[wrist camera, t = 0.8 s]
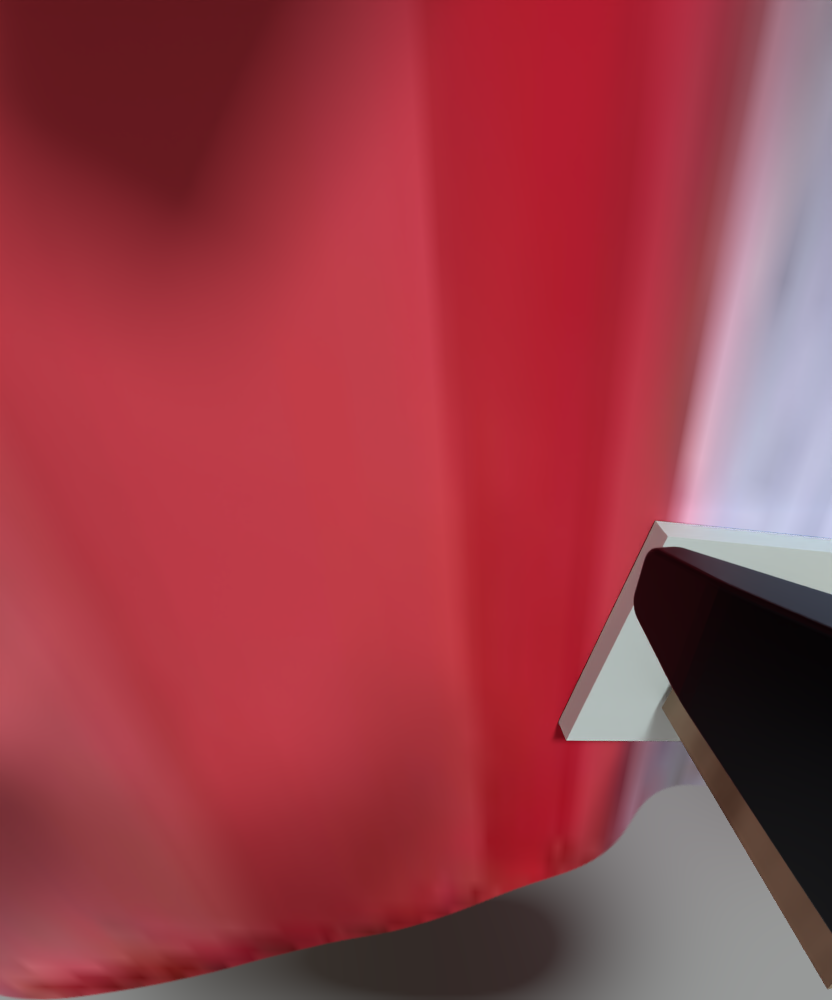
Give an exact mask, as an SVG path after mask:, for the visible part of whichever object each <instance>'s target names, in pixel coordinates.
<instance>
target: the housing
mask: <svg viewBox="0 0 832 1000" xmlns="http://www.w3.org/2000/svg"><path fill="white" fill-rule="evenodd" d="M673 546H676V547H682V548H685V549H689V550H692V551H695V552H698V553H701V554H705V555H708V556H711V557H714V558H717V559H721V560H724V561H727V562H730V563H733V564H736V565H740V566H743V567H746V568H749V569H752V570H756V571H759V572H762V573H765V574H768V575H772V576H775V577H778V578H781V579H784V580H787V581H791V582H794V583H797V584H800V585H803V586H807V587H810V588H813V589H816V590H819V591H823V592H826V593H829V594H832V539H827V538H817V537H807V536H798V535H788V534H778V533H769V532H759V531H749V530H740V529H730V528H721V527H711V526H701V525H692V524H682V523H672V522H663V521H655V522H654V525H653V527H652V529H651V531H650V533H649V535H648V537H647V539H646V541H645V543H644V545H643V547H642V550H641V552H640V554H639V556H638V558H637V560H636V562H635V564H634V566H633V568H632V570H631V572H630V574H629V577H628V579H627V581H626V583H625V585H624V587H623V589H622V591H621V593H620V595H619V597H618V599H617V601H616V604H615V606H614V608H613V610H612V612H611V614H610V616H609V618H608V620H607V622H606V624H605V626H604V629H603V631H602V633H601V635H600V637H599V639H598V641H597V643H596V645H595V647H594V649H593V651H592V653H591V656H590V658H589V660H588V662H587V664H586V666H585V668H584V670H583V672H582V674H581V676H580V678H579V680H578V683H577V685H576V687H575V689H574V691H573V693H572V695H571V697H570V699H569V701H568V703H567V705H566V708H565V710H564V712H563V714H562V716H561V718H560V720H559V725H560V727H561V729H562V732H563V734H564V736H565V739H566V740H576V741H681V740H680V738H679V737H678V735H677V733H676V731H675V730H674V728H673V726H672V725H671V723H670V721H669V720H668V718H667V716H666V715H665V713H664V711H663V709H662V706H663V704H664V703H665V701H666V699H667V697H668V696H669V694H670V692H671V690H672V689H673V688H672V686H671V685H670V683H669V681H668V679H667V677H666V675H665V673H664V671H663V669H662V667H661V665H660V663H659V661H658V659H657V657H656V655H655V653H654V651H653V649H652V647H651V645H650V643H649V641H648V639H647V637H646V635H645V633H644V631H643V629H642V627H641V625H640V623H639V621H638V619H637V617H636V614H635V611H634V604H633V600H634V593H635V590H636V586H637V583H638V579H639V576H640V573H641V569H642V566H643V562H644V559H645V556H646V554H647V553H648V552H649V551H650V550H651V549H653V548H659V547H673Z"/></svg>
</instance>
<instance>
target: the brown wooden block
mask: <svg viewBox="0 0 832 1000" xmlns="http://www.w3.org/2000/svg"><path fill="white" fill-rule="evenodd" d="M662 709H663V711H664V713H665V715H666V716H667V718H668V720H669V721H670V723H671V725H672V726H673V728H674V730H675V731H676V733H677V735H678V737H679V738H680V740H681V742H682V743H683V745H684V747H685V748H686V750H687V752H688V754H689V755H690V757H691V759H692V760H693V762H694V764H695V765H696V767H697V769H698V771H699V772H700V774H701V776H702V777H703V779H704V781H705V782H706V784H707V786H708V787H709V789H710V791H711V793H712V794H713V796H714V798H715V799H716V801H717V803H718V804H719V806H720V808H721V809H722V811H723V813H724V814H725V816H726V818H727V820H728V821H729V823H730V825H731V826H732V828H733V830H734V832H735V833H736V835H737V837H738V838H739V840H740V842H741V843H742V845H743V847H744V848H745V850H746V852H747V854H748V855H749V857H750V859H751V860H752V862H753V864H754V866H755V867H756V869H757V871H758V872H759V874H760V876H761V877H762V879H763V881H764V882H765V884H766V886H767V888H768V889H769V891H770V893H771V894H772V896H773V898H774V899H775V901H776V903H777V905H778V906H779V908H780V910H781V911H782V913H783V915H784V916H785V918H786V919H787V921H788V923H789V925H790V926H791V928H792V930H793V932H794V933H795V935H796V937H797V938H798V940H799V942H800V943H801V945H802V947H803V949H804V950H805V952H806V954H807V955H808V957H809V959H810V960H811V962H812V964H813V966H814V967H815V969H816V971H817V972H818V974H819V976H820V977H821V979H822V981H823V983H824V984H825V986H826V988H827V989H830V988H832V933H831V932H830V930H829V929H828V927H827V926H826V924H825V923H824V921H823V920H822V918H821V916H820V915H819V913H818V912H817V910H816V909H815V907H814V906H813V904H812V903H811V901H810V900H809V898H808V897H807V895H806V894H805V892H804V890H803V889H802V887H801V886H800V884H799V883H798V881H797V880H796V878H795V877H794V875H793V874H792V872H791V871H790V869H789V868H788V866H787V865H786V863H785V862H784V860H783V858H782V857H781V855H780V854H779V852H778V851H777V849H776V848H775V846H774V845H773V843H772V842H771V840H770V839H769V837H768V836H767V834H766V833H765V831H764V830H763V828H762V826H761V825H760V823H759V822H758V820H757V819H756V817H755V816H754V814H753V813H752V811H751V810H750V808H749V807H748V805H747V804H746V802H745V801H744V799H743V798H742V796H741V794H740V793H739V791H738V790H737V788H736V787H735V785H734V784H733V782H732V781H731V779H730V778H729V776H728V775H727V773H726V772H725V770H724V769H723V767H722V766H721V764H720V762H719V761H718V759H717V758H716V756H715V755H714V753H713V752H712V750H711V749H710V747H709V746H708V744H707V743H706V741H705V740H704V738H703V737H702V735H701V734H700V732H699V730H698V729H697V727H696V726H695V724H694V723H693V721H692V720H691V718H690V717H689V715H688V714H687V712H686V710H685V709H684V707H683V706H682V704H681V702H680V701H679V699H678V697H677V695H676V694H675V692H674V690H673V689H672V690H671V692H670V694H669V696H668V697H667V699H666V701H665V703H664V704H663V706H662Z"/></svg>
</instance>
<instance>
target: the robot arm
mask: <svg viewBox="0 0 832 1000" xmlns="http://www.w3.org/2000/svg"><path fill="white" fill-rule="evenodd" d="M633 604H634V611H635V614H636V617H637V619H638V621H639V623H640V625H641V627H642V629H643V631H644V633H645V635H646V637H647V639H648V641H649V643H650V645H651V647H652V649H653V651H654V653H655V655H656V657H657V659H658V661H659V663H660V665H661V667H662V669H663V671H664V673H665V675H666V677H667V679H668V681H669V683H670V685H671V686H672V688H673V690H674V692H675V694H676V695H677V697H678V699H679V701H680V702H681V704H682V706H683V707H684V709H685V710H686V712H687V714H688V715H689V717H690V718H691V720H692V721H693V723H694V724H695V726H696V727H697V729H698V730H699V732H700V734H701V735H702V737H703V738H704V740H705V741H706V743H707V744H708V746H709V747H710V749H711V750H712V752H713V753H714V755H715V756H716V758H717V759H718V761H719V762H720V764H721V766H722V767H723V769H724V770H725V772H726V773H727V775H728V776H729V778H730V779H731V781H732V782H733V784H734V785H735V787H736V788H737V790H738V791H739V793H740V794H741V796H742V798H743V799H744V801H745V802H746V804H747V805H748V807H749V808H750V810H751V811H752V813H753V814H754V816H755V817H756V819H757V820H758V822H759V823H760V825H761V826H762V828H763V830H764V831H765V833H766V834H767V836H768V837H769V839H770V840H771V842H772V843H773V845H774V846H775V848H776V849H777V851H778V852H779V854H780V855H781V857H782V858H783V860H784V862H785V863H786V865H787V866H788V868H789V869H790V871H791V872H792V874H793V875H794V877H795V878H796V880H797V881H798V883H799V884H800V886H801V887H802V889H803V890H804V892H805V894H806V895H807V897H808V898H809V900H810V901H811V903H812V904H813V906H814V907H815V909H816V910H817V912H818V913H819V915H820V916H821V918H822V920H823V921H824V923H825V924H826V926H827V927H828V929H829V930H830V932H831V933H832V594H829V593H826V592H823V591H819V590H816V589H813V588H810V587H807V586H803V585H800V584H797V583H794V582H791V581H787V580H784V579H781V578H778V577H775V576H772V575H768V574H765V573H762V572H759V571H756V570H752V569H749V568H746V567H743V566H740V565H736V564H733V563H730V562H727V561H724V560H721V559H717V558H714V557H711V556H708V555H705V554H701V553H698V552H695V551H692V550H689V549H685V548H682V547H676V546H673V547H659V548H653V549H651V550H650V551H649V552H648V553H647V554H646V556H645V559H644V562H643V566H642V569H641V573H640V576H639V579H638V583H637V586H636V590H635V593H634V600H633Z"/></svg>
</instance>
